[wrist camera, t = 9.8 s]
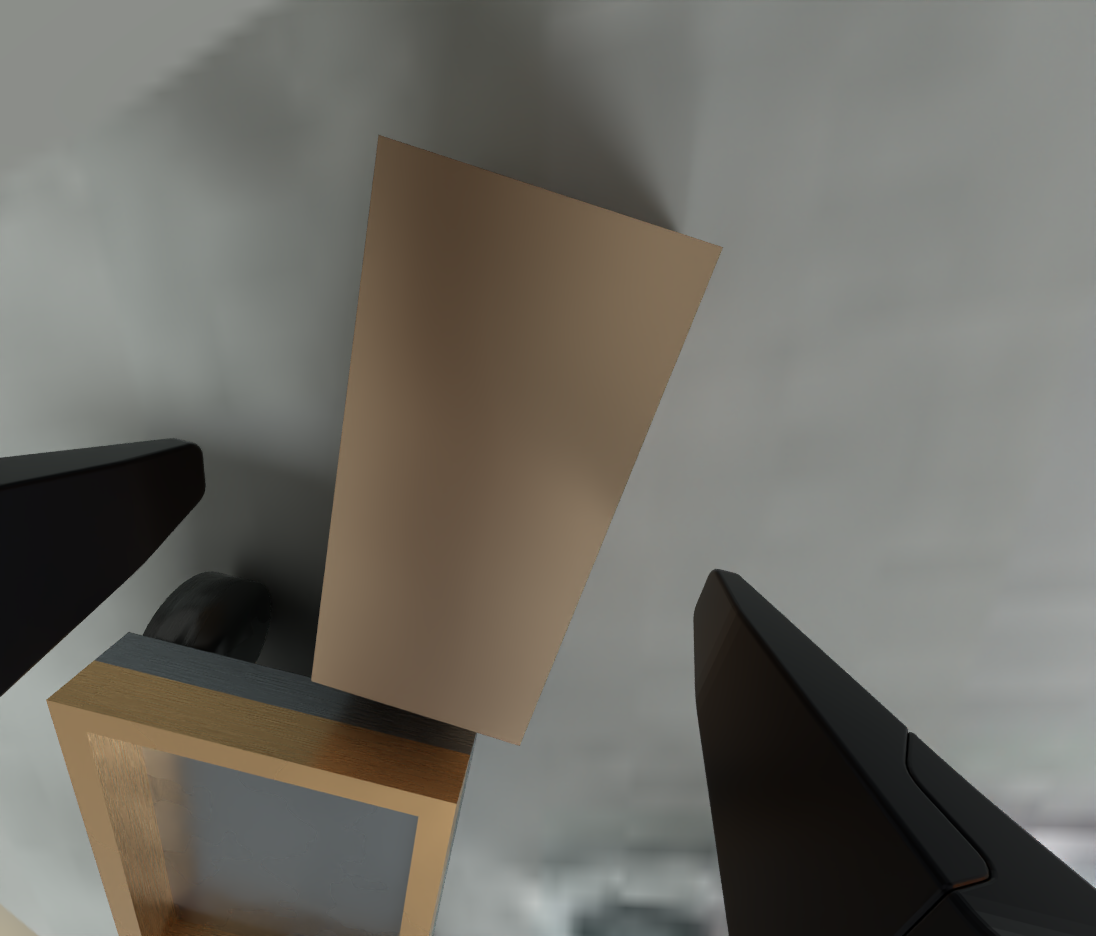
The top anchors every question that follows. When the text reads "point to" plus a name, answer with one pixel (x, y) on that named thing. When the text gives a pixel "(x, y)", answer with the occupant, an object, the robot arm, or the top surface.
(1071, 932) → the robot arm
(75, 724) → the wooden frame tray
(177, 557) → the top surface
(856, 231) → the top surface
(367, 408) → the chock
